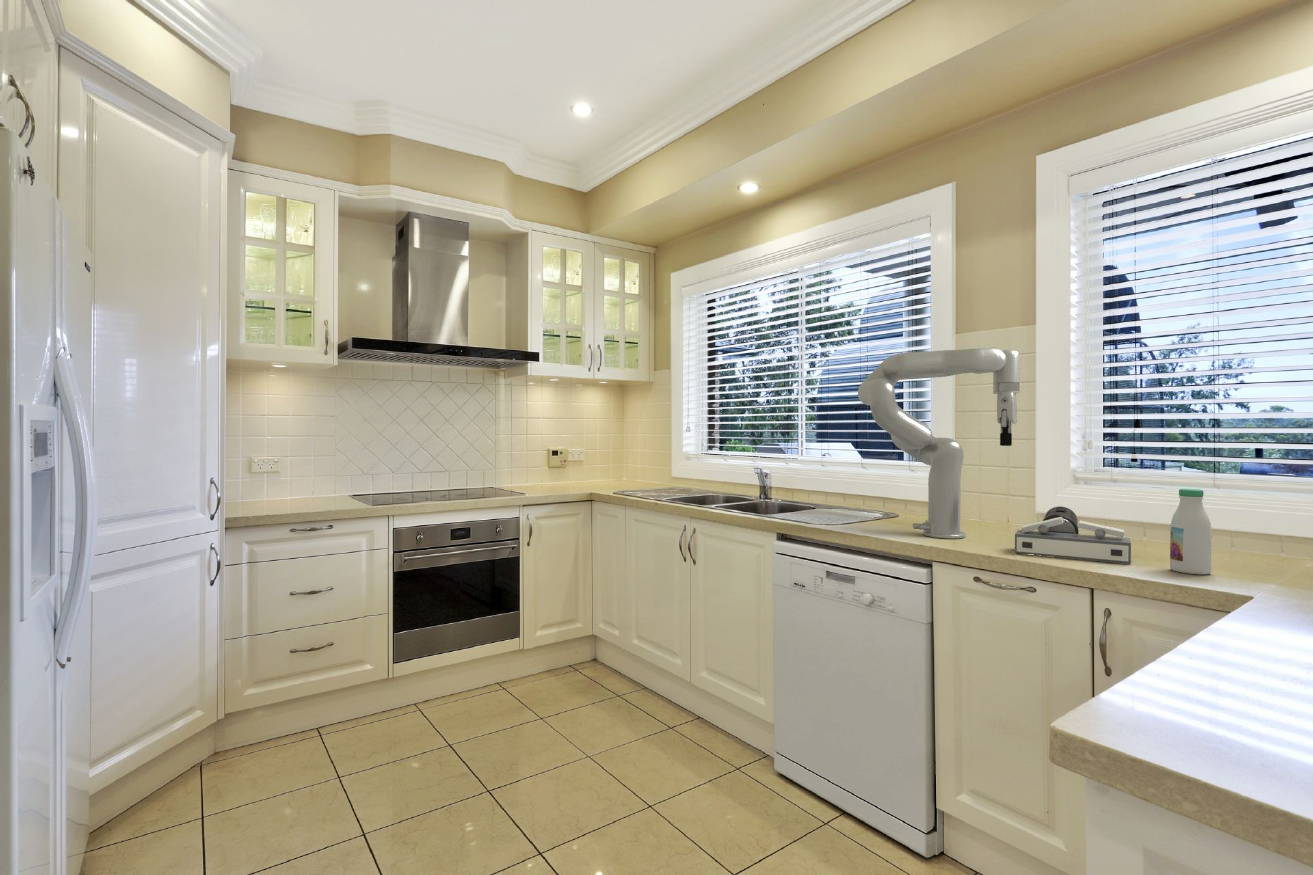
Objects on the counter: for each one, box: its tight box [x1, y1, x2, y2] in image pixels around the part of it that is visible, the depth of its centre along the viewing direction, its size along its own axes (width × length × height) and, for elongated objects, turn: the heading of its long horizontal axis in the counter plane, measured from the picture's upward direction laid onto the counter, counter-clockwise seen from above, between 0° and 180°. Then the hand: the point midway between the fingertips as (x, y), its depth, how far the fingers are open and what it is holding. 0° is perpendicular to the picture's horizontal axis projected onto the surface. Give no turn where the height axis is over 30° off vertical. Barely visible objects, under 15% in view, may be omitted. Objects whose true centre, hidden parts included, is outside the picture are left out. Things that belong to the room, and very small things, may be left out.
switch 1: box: [1020, 517, 1064, 533], centre depth 181 cm, size 10×5×3 cm, turn 56°
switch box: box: [1014, 529, 1132, 565], centre depth 177 cm, size 26×9×6 cm, turn 56°
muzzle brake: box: [1042, 505, 1080, 534], centre depth 195 cm, size 10×28×10 cm, turn 147°
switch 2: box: [1078, 520, 1125, 538], centre depth 174 cm, size 10×5×3 cm, turn 56°
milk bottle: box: [1169, 488, 1212, 575], centre depth 158 cm, size 8×8×20 cm
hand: (1005, 445), depth 211 cm, fingers closed
